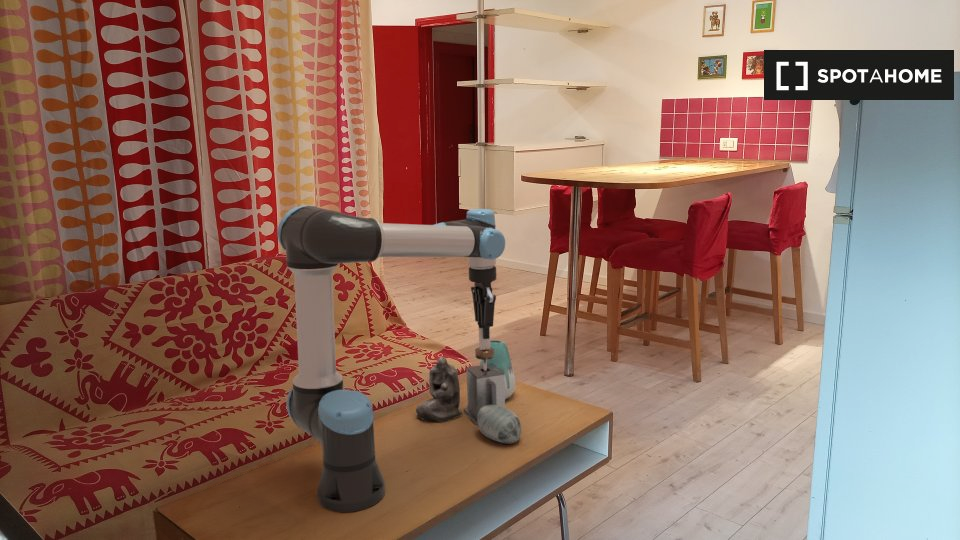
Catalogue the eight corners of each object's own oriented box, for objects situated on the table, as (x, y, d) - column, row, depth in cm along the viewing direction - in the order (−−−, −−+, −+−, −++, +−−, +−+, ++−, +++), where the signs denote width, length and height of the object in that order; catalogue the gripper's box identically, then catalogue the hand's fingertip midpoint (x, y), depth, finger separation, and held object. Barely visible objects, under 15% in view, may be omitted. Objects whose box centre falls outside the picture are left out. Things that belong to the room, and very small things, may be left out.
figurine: (416, 424, 201) (413, 363, 197) (415, 407, 212) (413, 349, 208) (463, 421, 202) (461, 360, 198) (460, 404, 213) (458, 346, 209)
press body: (478, 427, 198) (476, 380, 195) (463, 411, 208) (462, 366, 206) (511, 420, 201) (510, 374, 198) (495, 405, 212) (494, 361, 209)
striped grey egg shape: (534, 430, 188) (514, 400, 186) (509, 455, 184) (488, 424, 182) (508, 423, 200) (489, 395, 198) (484, 446, 196) (464, 418, 194)
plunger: (480, 398, 201) (478, 354, 198) (473, 391, 206) (471, 348, 203) (498, 394, 203) (497, 351, 200) (491, 388, 208) (490, 345, 205)
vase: (498, 386, 226) (496, 332, 223) (523, 397, 218) (522, 340, 214) (469, 396, 219) (467, 340, 215) (494, 407, 211) (493, 349, 207)
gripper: (504, 269, 191) (506, 353, 197) (486, 260, 203) (488, 340, 209) (477, 272, 189) (480, 357, 194) (461, 263, 201) (464, 343, 206)
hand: (484, 348), depth 201 cm, fingers closed
